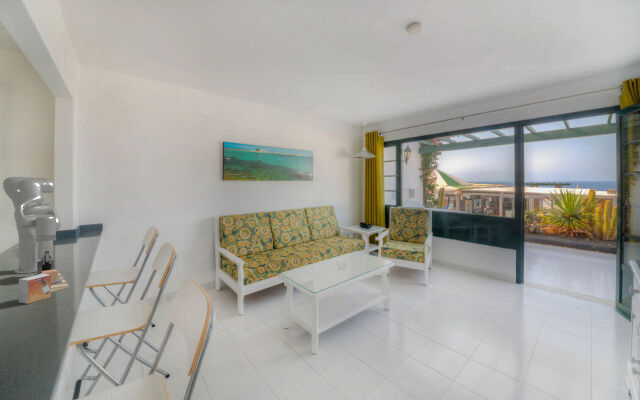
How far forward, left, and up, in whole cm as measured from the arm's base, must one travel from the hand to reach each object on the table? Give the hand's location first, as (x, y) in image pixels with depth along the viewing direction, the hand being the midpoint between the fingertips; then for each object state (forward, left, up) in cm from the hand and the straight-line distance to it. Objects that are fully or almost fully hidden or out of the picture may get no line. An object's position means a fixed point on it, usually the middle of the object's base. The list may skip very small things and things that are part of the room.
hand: (45, 269), depth 136 cm
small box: (+36, -6, -4) cm, 37 cm away
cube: (+17, 0, -2) cm, 17 cm away
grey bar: (+10, 0, -3) cm, 10 cm away
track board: (+14, 0, -4) cm, 14 cm away
